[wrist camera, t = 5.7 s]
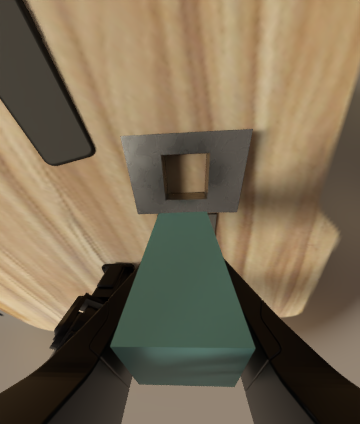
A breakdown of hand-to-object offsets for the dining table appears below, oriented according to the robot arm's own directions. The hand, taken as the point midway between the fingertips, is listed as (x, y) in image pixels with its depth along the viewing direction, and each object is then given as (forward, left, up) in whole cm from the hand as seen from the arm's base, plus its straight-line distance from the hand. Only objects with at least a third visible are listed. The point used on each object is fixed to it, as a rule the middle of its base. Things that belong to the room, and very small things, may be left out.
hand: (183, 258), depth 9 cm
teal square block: (0, 0, -3) cm, 3 cm away
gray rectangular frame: (+4, 0, -11) cm, 11 cm away
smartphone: (+13, +16, -12) cm, 23 cm away
